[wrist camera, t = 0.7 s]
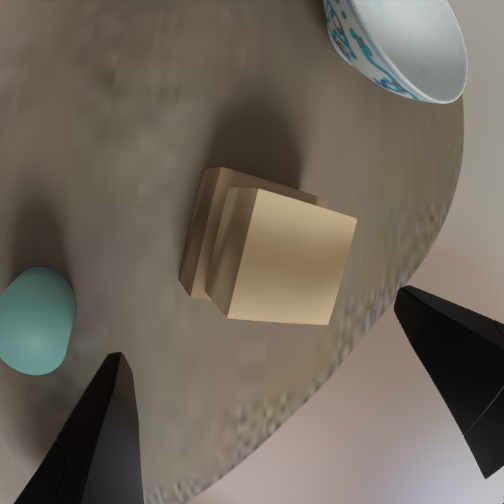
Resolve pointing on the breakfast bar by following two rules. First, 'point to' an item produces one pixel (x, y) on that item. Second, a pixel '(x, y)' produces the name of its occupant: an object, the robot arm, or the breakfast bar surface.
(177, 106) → the breakfast bar surface
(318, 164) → the breakfast bar surface
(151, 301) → the breakfast bar surface
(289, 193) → the base block
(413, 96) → the chinaware
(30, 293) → the teal cylinder
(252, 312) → the top block
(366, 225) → the breakfast bar surface
